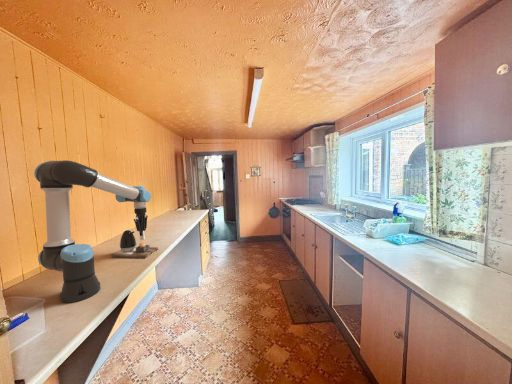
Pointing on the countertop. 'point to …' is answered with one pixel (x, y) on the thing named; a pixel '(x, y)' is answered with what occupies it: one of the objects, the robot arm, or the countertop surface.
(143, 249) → the drawing board
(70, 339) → the countertop surface
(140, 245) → the button
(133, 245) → the pump dispenser
